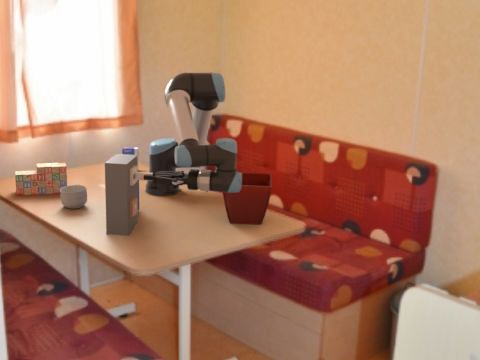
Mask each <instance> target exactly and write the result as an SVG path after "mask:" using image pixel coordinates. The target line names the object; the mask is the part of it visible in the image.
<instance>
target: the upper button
mask: <svg viewBox="0 0 480 360" xmlns="http://www.w3.org/2000/svg"><path fill="white" fill-rule="evenodd" d="M136 172H137V166H135V165H134V166H133V167H131V168H130V186H133V185H134V184H135V183H136V182H137V180H136V176H135V173H136Z"/></svg>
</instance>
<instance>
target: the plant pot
mask: <svg viewBox="0 0 480 360" xmlns="http://www.w3.org/2000/svg"><path fill="white" fill-rule="evenodd" d="M240 173H241V174H242V187H241V190H240V192H238V193H227V192H222V196H223V203H224V208H225V212H226V215H227V220H228V222H229V223H230V224H240V225H241V224H243V225H262V224H263V222H264V220H265V216H266V214H267V211H268V206H269V204H270V199H271V193H272V187H273V184H272V183H273V182H272V173H262V172H258V173H257V172H240Z"/></svg>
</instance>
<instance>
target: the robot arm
mask: <svg viewBox="0 0 480 360" xmlns="http://www.w3.org/2000/svg"><path fill="white" fill-rule="evenodd" d="M225 100H226V86H225V79H224V77H223V75H222V74H221V73H219V72H212V71H211V72H181V73H178V74H176V75H175V76H174V77H173V78H171V79H170V81H169V82H168V84H167V85H166V87H165V89H164V101H165V105H166V107H167V108H169V111H170V115H171V119H172V120H171V121H172V125H173V128H174V133H175V137H176V138H171V137H170V138H169V137H167V138H159V139H156V140H154V141H151V142H150V143H149V148H148V149H149V150H148V154H149V159H148V160H149V166H148V167H149V172H148V171H138V172H136V173H135V176H136V180H139V181H146V184H145V192H146V193H147V194H149V195H153V196H171V195H175V194H178V193H179V192H180V186H183V185H186V186H187V187H186V188H187V189H188V190H190V191H198V190H199V191H205V192H206V193H208V192H218V193H223V192H227V193H238V192H240V190H241V187H242V174H241V173H242V172H241V171H240V172H239V171H237V170H238V169H237V162H238V161H237V158H238V143H237V141H236V140H235V139H233V138H230V137H229V138H228V137H222V138H217V139H216V142H215V144H211V143H210V142H209V141H208V140H207V138H208V133H209V130H210V125H211V121H212V117H213V116H212V115H213V112H214V110H216V109H217V108H218V106H219V103H223V102H225ZM190 103H191V105H192V107H190ZM191 108H192V109H191ZM203 167H215V170H210V169H201V170H200V169H199V168H203ZM185 168H186V169H189V168H191V169H189V170H188V172H187V173H185V171H184V170H178V171H176V170H177V169H185ZM196 168H198V169H196Z"/></svg>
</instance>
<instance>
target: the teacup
mask: <svg viewBox="0 0 480 360" xmlns="http://www.w3.org/2000/svg"><path fill="white" fill-rule="evenodd" d="M59 194H60V200H61V204H62V205H63V206H64V207H65V208H67V209H69V208H70V209H71V210H72V209H73V210H75V209H81V208H83V207H84V206H85V205H86V203H87V202H88V187H87V186H86V185H82V184H80V183H77V184H70V185H67V186H66V187H63V188H61V189H60V193H59ZM70 209H69V210H70Z"/></svg>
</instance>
